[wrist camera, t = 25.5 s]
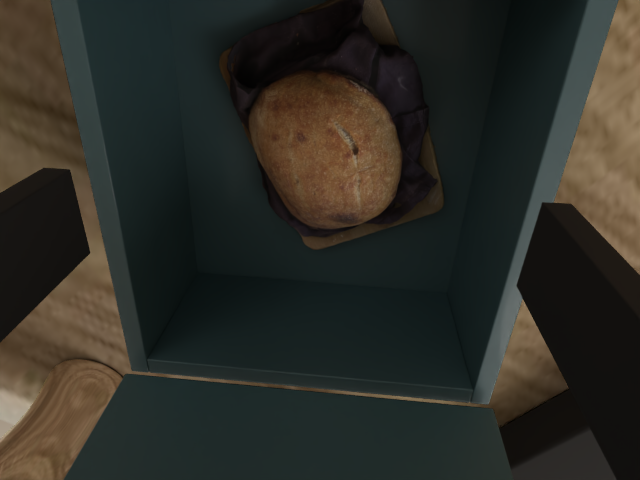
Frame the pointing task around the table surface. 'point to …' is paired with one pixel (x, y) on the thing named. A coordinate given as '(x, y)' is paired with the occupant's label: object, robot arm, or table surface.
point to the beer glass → (57, 421)
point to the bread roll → (336, 121)
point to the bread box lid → (283, 436)
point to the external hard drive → (554, 444)
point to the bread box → (285, 241)
